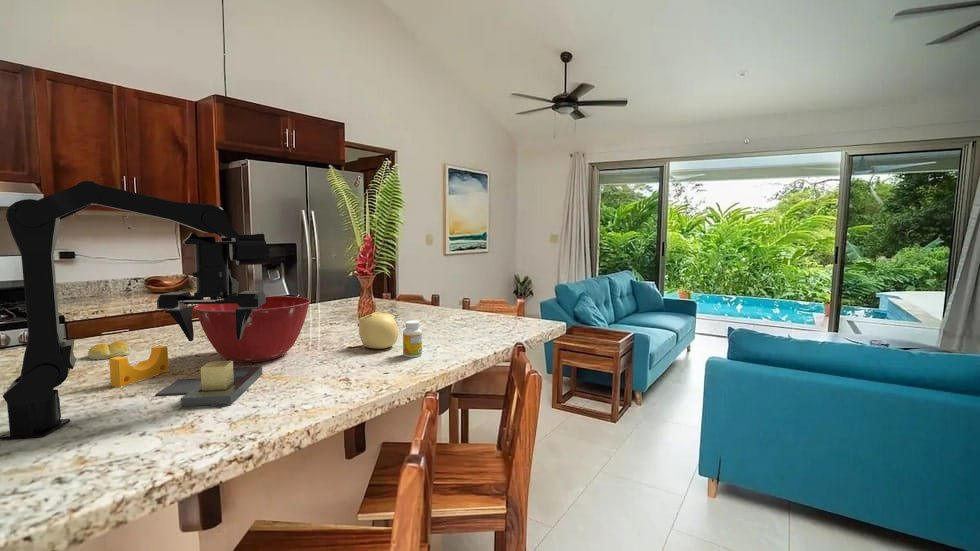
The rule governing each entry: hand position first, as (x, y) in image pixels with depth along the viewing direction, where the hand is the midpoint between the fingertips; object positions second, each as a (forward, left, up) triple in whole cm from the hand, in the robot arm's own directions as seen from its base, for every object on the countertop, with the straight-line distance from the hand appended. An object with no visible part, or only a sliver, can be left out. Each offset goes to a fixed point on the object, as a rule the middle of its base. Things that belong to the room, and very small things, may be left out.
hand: (215, 340), depth 93 cm
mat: (+7, +8, -12) cm, 16 cm away
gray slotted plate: (+4, 0, -12) cm, 13 cm away
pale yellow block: (0, 0, -12) cm, 12 cm away
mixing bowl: (+31, +2, -12) cm, 34 cm away
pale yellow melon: (+37, -31, -12) cm, 50 cm away
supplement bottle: (+26, -41, -12) cm, 50 cm away
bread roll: (+38, +42, -12) cm, 58 cm away
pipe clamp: (+16, +23, -12) cm, 31 cm away
